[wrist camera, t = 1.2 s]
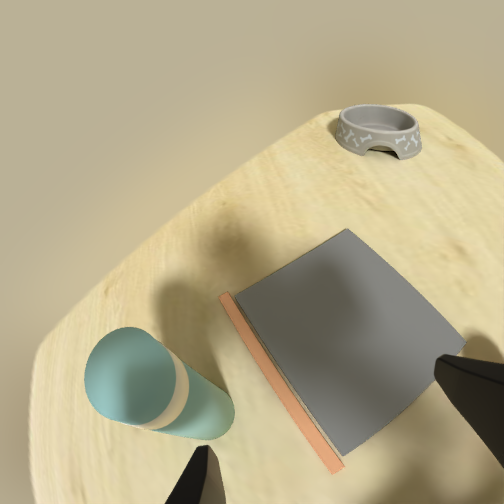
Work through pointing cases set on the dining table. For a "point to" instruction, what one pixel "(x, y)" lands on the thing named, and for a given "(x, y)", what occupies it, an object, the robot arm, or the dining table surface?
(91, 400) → the teal cylinder
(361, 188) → the dining table surface
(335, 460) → the orange strip
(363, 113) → the dog bowl
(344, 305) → the mat
